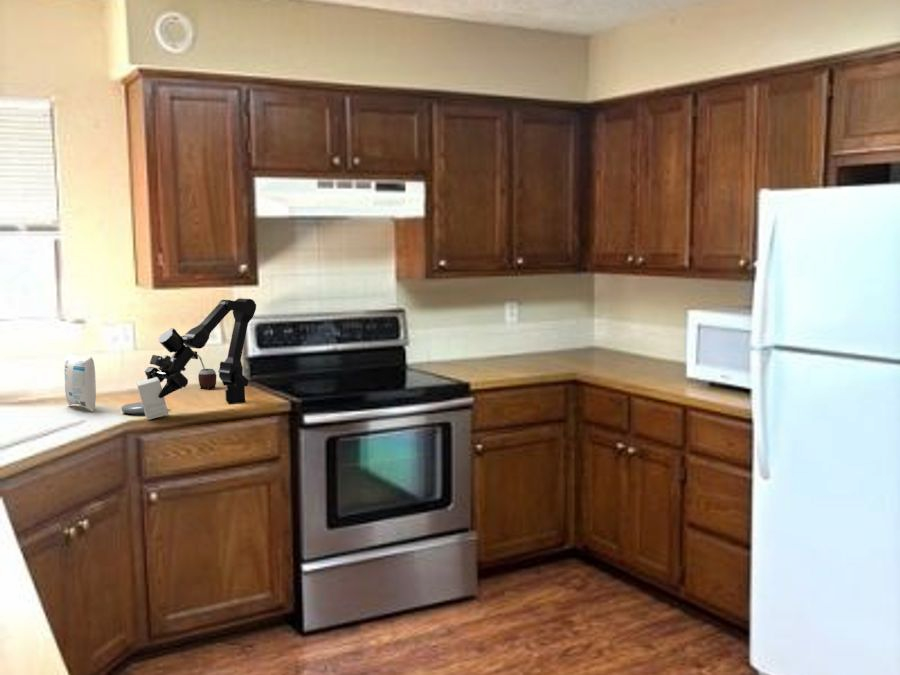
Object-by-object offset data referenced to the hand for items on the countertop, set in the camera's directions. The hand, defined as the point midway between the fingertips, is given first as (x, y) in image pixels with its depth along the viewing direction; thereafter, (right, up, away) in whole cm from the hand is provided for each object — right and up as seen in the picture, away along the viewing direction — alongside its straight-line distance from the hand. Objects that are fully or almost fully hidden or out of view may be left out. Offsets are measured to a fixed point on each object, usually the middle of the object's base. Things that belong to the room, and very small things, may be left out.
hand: (151, 395), depth 307 cm
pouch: (-32, -6, +20) cm, 38 cm away
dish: (-7, -6, +13) cm, 16 cm away
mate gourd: (+3, -1, +58) cm, 58 cm away
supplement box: (+1, -7, +2) cm, 8 cm away
